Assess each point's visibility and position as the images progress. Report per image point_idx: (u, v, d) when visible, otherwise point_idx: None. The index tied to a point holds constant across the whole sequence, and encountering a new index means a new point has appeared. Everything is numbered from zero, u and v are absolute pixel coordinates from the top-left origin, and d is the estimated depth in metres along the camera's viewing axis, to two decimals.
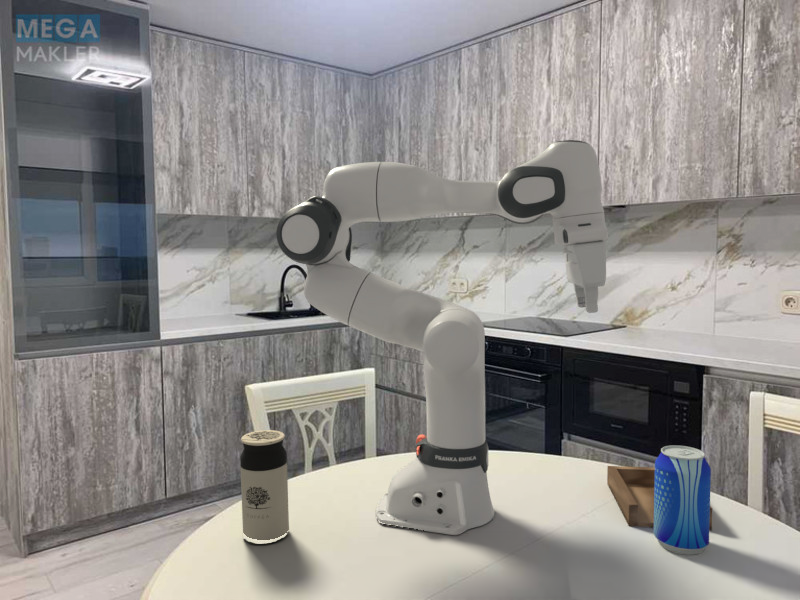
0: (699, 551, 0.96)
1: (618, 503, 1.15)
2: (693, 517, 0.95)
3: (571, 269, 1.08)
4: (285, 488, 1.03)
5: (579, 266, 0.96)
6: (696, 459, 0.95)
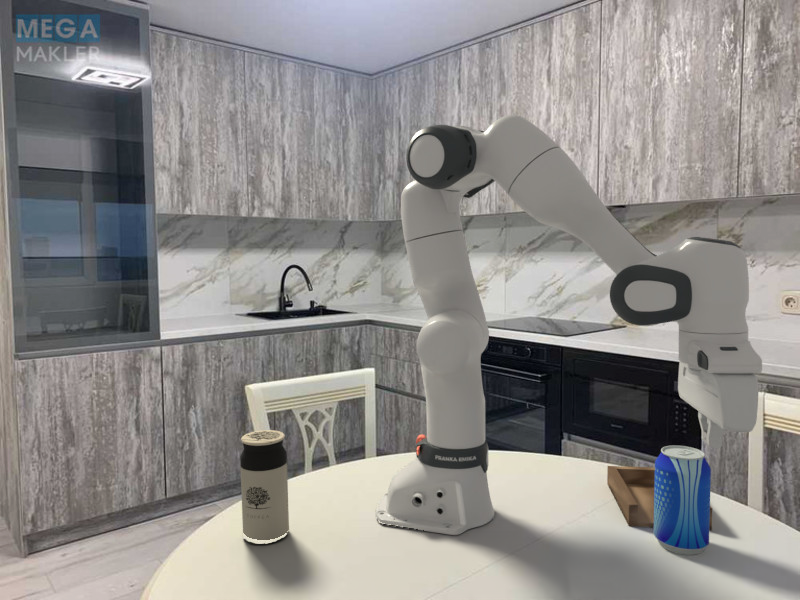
0: (699, 551, 0.96)
1: (618, 503, 1.15)
2: (693, 517, 0.95)
3: (694, 391, 0.88)
4: (285, 488, 1.03)
5: (723, 404, 0.76)
6: (696, 459, 0.95)
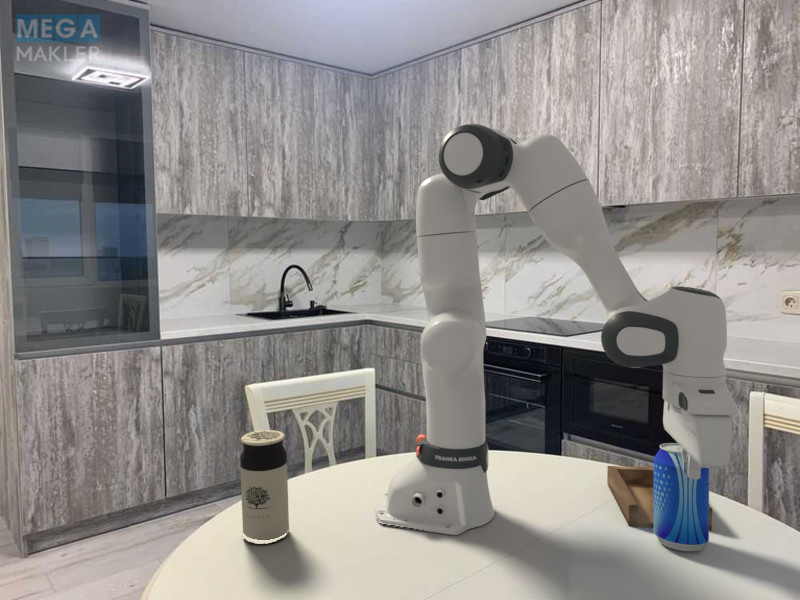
0: (699, 548, 0.96)
1: (618, 503, 1.15)
2: (692, 512, 0.95)
3: (676, 426, 0.96)
4: (285, 488, 1.03)
5: (699, 443, 0.84)
6: None
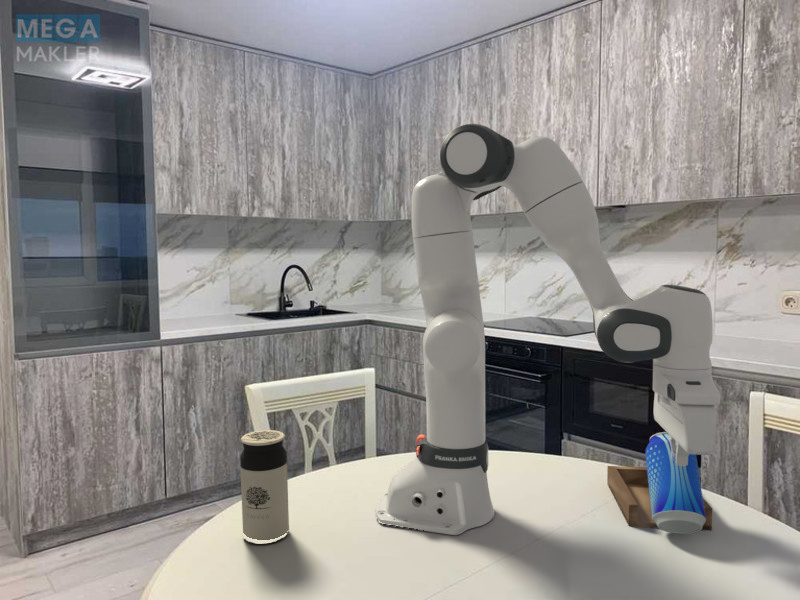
0: (697, 520, 0.98)
1: (618, 503, 1.15)
2: (684, 480, 1.01)
3: (665, 416, 1.01)
4: (285, 488, 1.03)
5: (686, 431, 0.90)
6: None
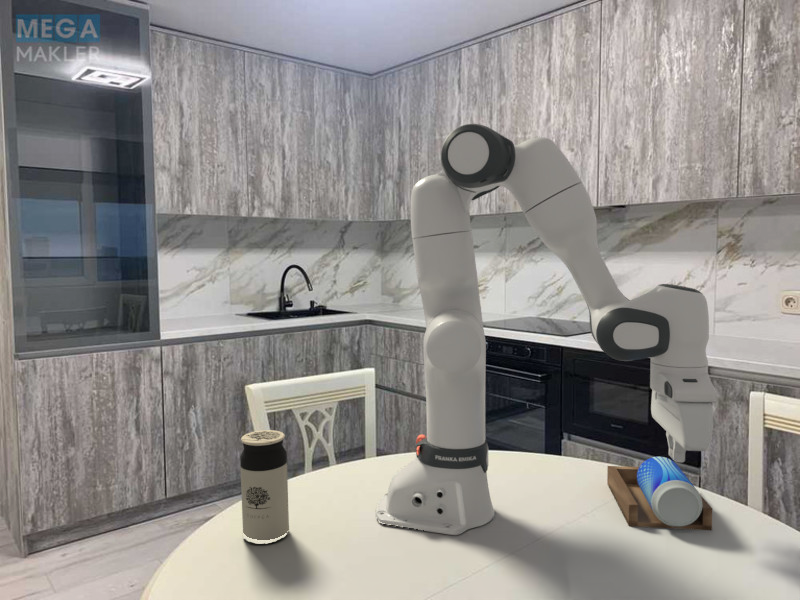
0: (692, 490, 1.02)
1: (618, 503, 1.15)
2: (675, 470, 1.09)
3: (663, 413, 1.03)
4: (285, 488, 1.03)
5: (683, 428, 0.92)
6: None
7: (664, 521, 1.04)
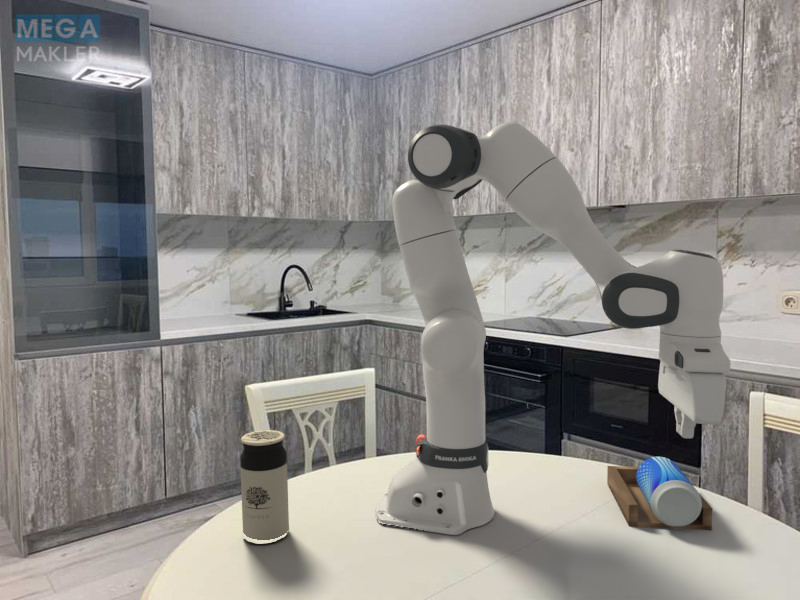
0: (691, 490, 1.03)
1: (618, 503, 1.15)
2: (674, 470, 1.09)
3: (671, 387, 0.98)
4: (285, 488, 1.03)
5: (694, 399, 0.86)
6: None
7: (664, 521, 1.04)
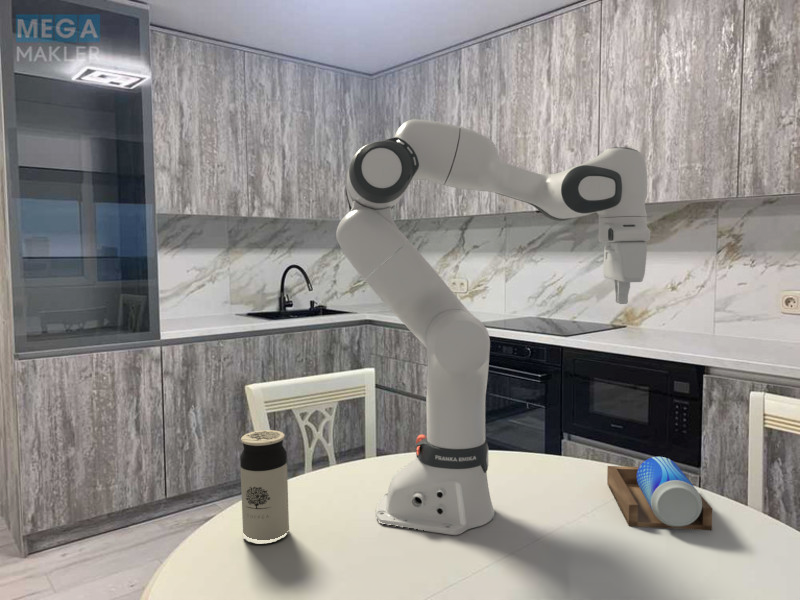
0: (692, 490, 1.02)
1: (618, 503, 1.15)
2: (674, 470, 1.09)
3: (610, 265, 1.18)
4: (285, 488, 1.03)
5: (621, 262, 1.07)
6: None
7: (664, 521, 1.04)
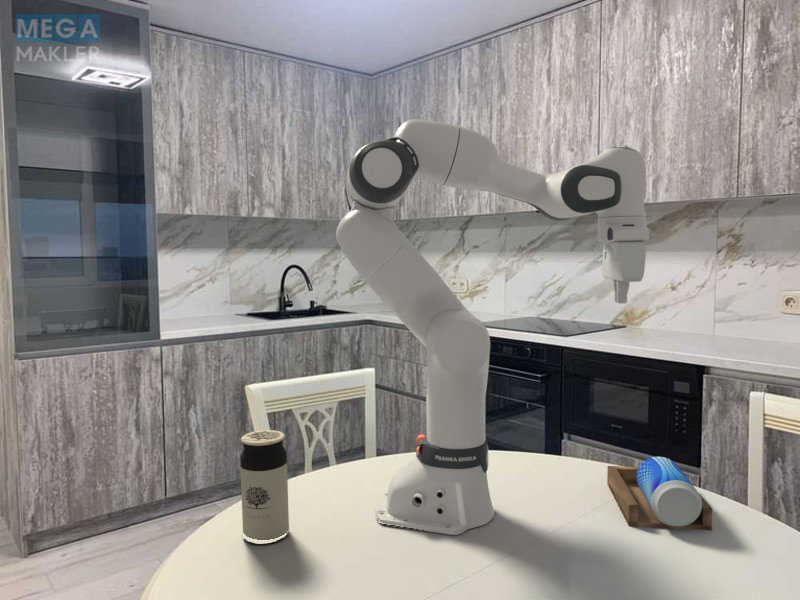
0: (692, 490, 1.02)
1: (618, 503, 1.15)
2: (674, 470, 1.09)
3: (609, 265, 1.19)
4: (285, 488, 1.03)
5: (621, 261, 1.07)
6: None
7: (664, 521, 1.04)
